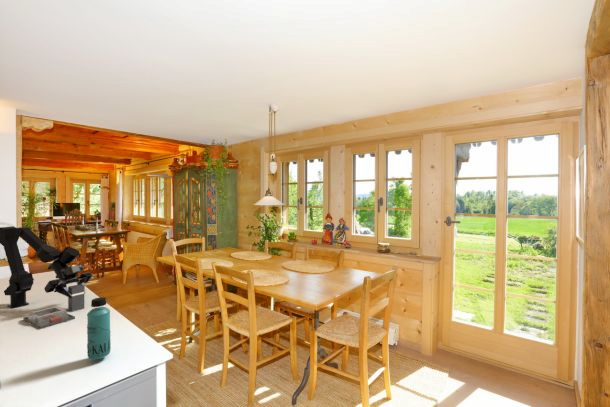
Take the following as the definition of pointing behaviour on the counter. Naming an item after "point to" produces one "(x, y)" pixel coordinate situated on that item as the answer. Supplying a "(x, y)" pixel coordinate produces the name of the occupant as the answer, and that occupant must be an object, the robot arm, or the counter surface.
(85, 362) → the counter surface
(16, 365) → the counter surface
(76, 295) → the plug block
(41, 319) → the grey socket base
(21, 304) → the robot arm
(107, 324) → the beverage bottle
